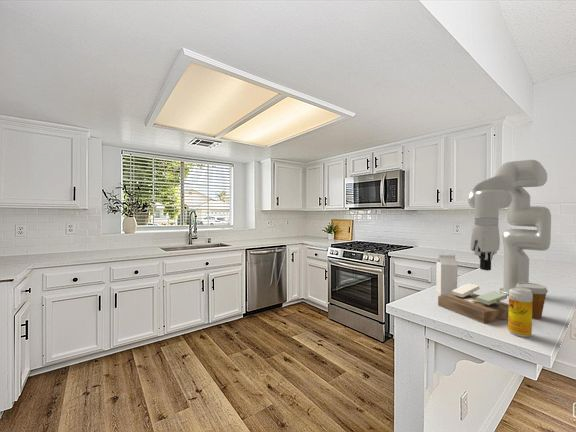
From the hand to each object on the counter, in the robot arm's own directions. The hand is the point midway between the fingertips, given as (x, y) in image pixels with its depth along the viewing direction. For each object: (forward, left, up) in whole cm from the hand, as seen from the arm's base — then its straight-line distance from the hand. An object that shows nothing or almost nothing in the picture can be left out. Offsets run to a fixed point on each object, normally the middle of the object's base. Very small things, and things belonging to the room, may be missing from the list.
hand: (485, 269), depth 110 cm
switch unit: (-2, -5, -18) cm, 19 cm away
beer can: (+4, +15, -18) cm, 24 cm away
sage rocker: (-4, 0, -12) cm, 13 cm away
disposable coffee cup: (-17, +6, -18) cm, 26 cm away
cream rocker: (-4, -11, -12) cm, 17 cm away
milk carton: (-10, -26, -18) cm, 33 cm away
